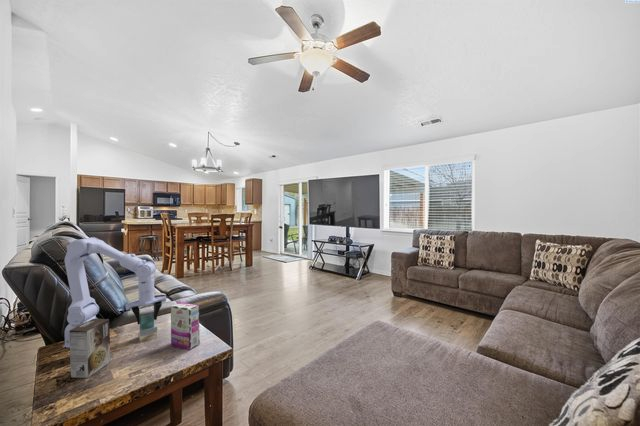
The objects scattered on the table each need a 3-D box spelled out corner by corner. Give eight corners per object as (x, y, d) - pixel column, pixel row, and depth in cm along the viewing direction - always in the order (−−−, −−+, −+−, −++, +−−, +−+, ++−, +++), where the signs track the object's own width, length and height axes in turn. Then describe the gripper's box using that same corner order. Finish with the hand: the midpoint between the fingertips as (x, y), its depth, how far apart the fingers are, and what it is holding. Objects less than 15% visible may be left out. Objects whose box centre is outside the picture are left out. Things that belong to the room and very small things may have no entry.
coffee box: (94, 361, 95) (93, 318, 94) (111, 361, 94) (110, 318, 94) (69, 377, 86) (68, 330, 85) (88, 378, 85) (87, 330, 85)
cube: (141, 330, 109) (141, 319, 109) (140, 326, 112) (140, 316, 112) (154, 327, 112) (154, 316, 112) (152, 323, 115) (152, 313, 115)
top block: (141, 336, 108) (141, 331, 108) (139, 332, 112) (139, 326, 112) (156, 332, 112) (156, 326, 112) (154, 328, 116) (154, 322, 116)
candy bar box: (200, 344, 106) (199, 305, 106) (190, 350, 102) (189, 309, 101) (181, 339, 110) (180, 301, 110) (170, 344, 106) (169, 305, 106)
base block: (140, 343, 108) (140, 337, 108) (138, 338, 112) (138, 332, 112) (157, 338, 112) (156, 332, 112) (154, 333, 116) (154, 328, 116)
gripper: (126, 296, 104) (127, 329, 104) (167, 289, 114) (168, 319, 114) (125, 292, 109) (125, 324, 109) (164, 285, 119) (164, 314, 119)
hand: (147, 321), depth 112 cm, fingers open, 5 cm apart
